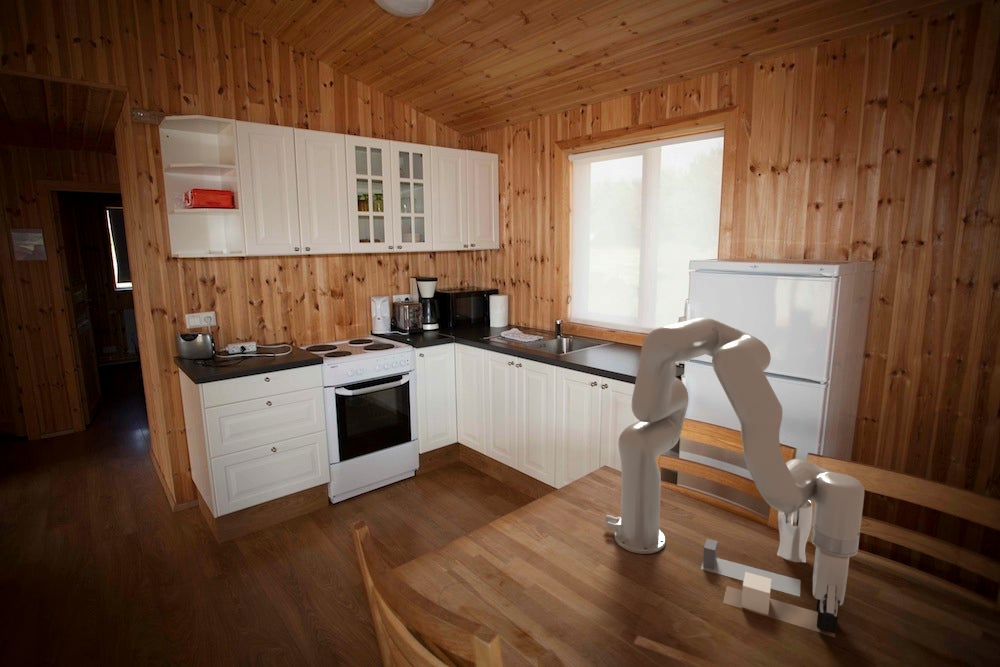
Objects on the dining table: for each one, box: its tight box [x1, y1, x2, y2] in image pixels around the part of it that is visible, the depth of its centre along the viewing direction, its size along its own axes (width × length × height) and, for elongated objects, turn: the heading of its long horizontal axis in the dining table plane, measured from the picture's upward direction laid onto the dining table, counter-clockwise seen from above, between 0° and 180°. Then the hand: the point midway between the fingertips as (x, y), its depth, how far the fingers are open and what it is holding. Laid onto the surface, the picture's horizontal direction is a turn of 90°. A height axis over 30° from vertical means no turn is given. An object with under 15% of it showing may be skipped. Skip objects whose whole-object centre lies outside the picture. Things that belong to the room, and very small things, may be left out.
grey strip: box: [700, 538, 801, 597], centre depth 119 cm, size 20×6×6 cm, turn 60°
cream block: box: [741, 572, 772, 615], centre depth 109 cm, size 5×5×5 cm
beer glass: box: [776, 500, 813, 563], centre depth 124 cm, size 7×7×15 cm
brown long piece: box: [722, 585, 836, 638], centre depth 108 cm, size 20×6×6 cm, turn 60°
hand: (825, 621), depth 104 cm, fingers closed on brown long piece, 4 cm apart
